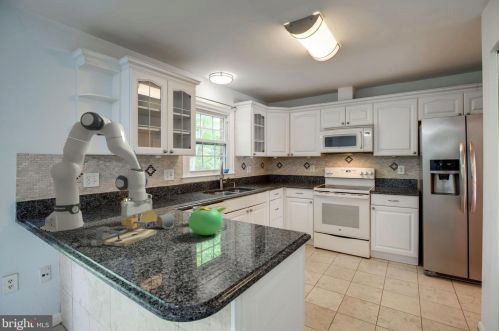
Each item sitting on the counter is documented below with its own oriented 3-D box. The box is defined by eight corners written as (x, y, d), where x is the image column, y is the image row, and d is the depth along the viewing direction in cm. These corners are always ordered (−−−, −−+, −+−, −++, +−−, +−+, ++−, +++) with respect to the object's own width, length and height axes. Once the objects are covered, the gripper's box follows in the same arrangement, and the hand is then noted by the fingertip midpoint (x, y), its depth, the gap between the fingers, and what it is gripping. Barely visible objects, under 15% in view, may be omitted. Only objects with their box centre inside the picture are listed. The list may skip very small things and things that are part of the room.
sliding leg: (125, 228, 132) (125, 219, 132) (131, 226, 136) (131, 217, 136) (144, 230, 128) (143, 220, 128) (149, 228, 132) (149, 218, 132)
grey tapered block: (90, 245, 112) (89, 230, 112) (132, 230, 137) (132, 217, 137) (110, 247, 108) (110, 232, 108) (150, 231, 133) (150, 219, 133)
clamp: (124, 226, 145) (124, 199, 145) (119, 224, 151) (118, 198, 151) (157, 220, 159) (156, 196, 159) (151, 218, 166) (150, 194, 165)
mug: (196, 226, 142) (196, 209, 142) (186, 225, 147) (186, 208, 146) (209, 222, 152) (209, 206, 152) (199, 221, 156) (199, 205, 156)
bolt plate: (104, 244, 113) (104, 240, 113) (138, 231, 134) (138, 228, 134) (124, 246, 110) (124, 243, 110) (157, 232, 131) (156, 229, 131)
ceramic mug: (156, 227, 143) (155, 214, 143) (169, 224, 148) (169, 211, 148) (163, 231, 135) (163, 217, 135) (177, 228, 141) (177, 215, 140)
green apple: (182, 235, 125) (181, 207, 125) (204, 228, 140) (204, 202, 139) (209, 241, 116) (208, 210, 116) (230, 232, 130) (229, 205, 130)
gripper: (127, 200, 127) (128, 226, 127) (153, 194, 146) (154, 217, 147) (118, 199, 129) (118, 225, 129) (145, 194, 148) (145, 217, 149)
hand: (137, 221), depth 138 cm, fingers closed
